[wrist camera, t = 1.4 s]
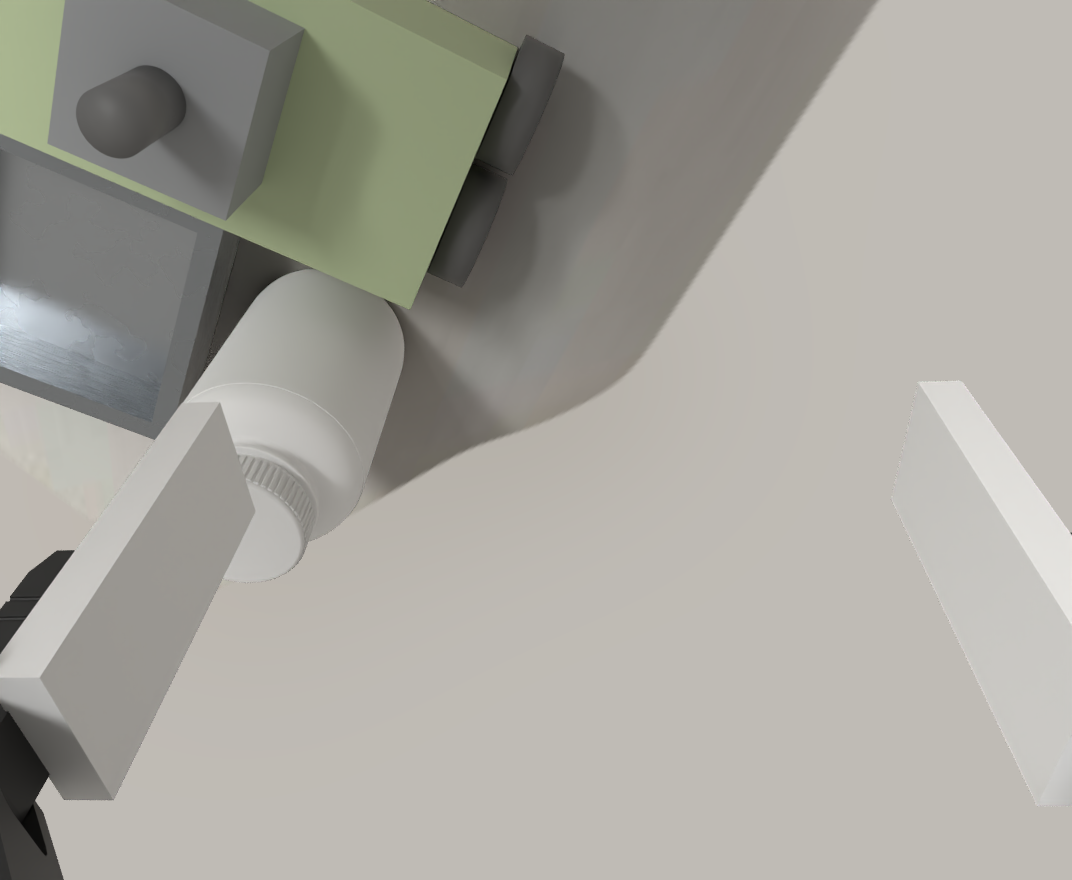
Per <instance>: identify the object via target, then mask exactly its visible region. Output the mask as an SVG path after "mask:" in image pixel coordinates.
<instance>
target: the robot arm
mask: <svg viewBox="0 0 1072 880" xmlns="http://www.w3.org/2000/svg"><path fill="white" fill-rule="evenodd" d="M891 501H892V503H893V505H894V507H895V509H896V511H897V513H898V516H899V517H900V520H901V522H902V524H903V526H904V528H905V530H906V532H907V534H908V536H909V539H910V541H911V543H912V545H913V547H914V549H915V551H916V553H917V555H918V557H919V559H920V562H921V564H922V566H923V568H924V570H925V572H926V574H927V577H928V579H929V580H930V583H931V585H932V587H933V589H934V591H935V593H936V595H937V597H938V600H939V602H940V604H941V606H942V608H943V610H944V612H945V614H946V616H947V618H948V621H949V623H950V625H951V627H952V629H953V631H954V633H955V635H956V638H957V640H958V642H959V644H960V646H961V648H962V650H963V652H964V654H965V656H966V659H967V661H968V663H969V665H970V667H971V669H972V671H973V673H974V675H975V677H976V680H977V682H978V684H979V686H980V688H981V690H982V692H983V694H984V696H985V699H986V700H987V703H988V705H989V707H990V709H991V711H992V713H993V715H994V717H995V720H996V722H997V724H998V726H999V728H1000V730H1001V732H1002V734H1003V736H1004V738H1005V740H1006V742H1007V745H1008V747H1009V749H1010V751H1011V753H1012V755H1013V757H1014V759H1015V762H1016V764H1017V766H1018V768H1019V770H1020V772H1021V774H1022V776H1023V778H1024V781H1025V783H1026V785H1027V787H1028V789H1029V791H1030V793H1031V795H1032V797H1033V799H1034V801H1035V803H1036V806H1072V533H1070V532H1069V531H1068V529H1067V528H1066V526H1065V525H1064V524H1063V522H1062V521H1061V520H1060V518H1059V517H1058V515H1057V514H1056V513H1055V511H1054V510H1053V508H1052V507H1051V506H1050V504H1049V503H1048V501H1047V500H1046V498H1045V497H1044V496H1043V494H1042V493H1041V492H1040V490H1039V489H1038V487H1037V486H1036V484H1035V483H1034V482H1033V480H1032V479H1031V477H1030V476H1029V475H1028V473H1027V472H1026V471H1025V469H1024V468H1023V466H1022V465H1021V463H1020V462H1019V461H1018V459H1017V458H1016V457H1015V455H1014V454H1013V452H1012V451H1011V449H1010V448H1009V447H1008V445H1007V444H1006V442H1005V441H1004V440H1003V438H1002V437H1001V436H1000V434H999V433H998V431H997V430H996V429H995V427H994V426H993V424H992V423H991V421H990V420H989V419H988V417H987V416H986V415H985V413H984V412H983V410H982V409H981V407H980V406H979V405H978V403H977V402H976V401H975V399H974V398H973V396H972V395H971V394H970V392H969V391H968V389H967V388H966V387H965V385H964V384H963V382H962V381H934V382H918V384H917V388H916V393H915V397H914V401H913V406H912V410H911V415H910V419H909V423H908V428H907V432H906V437H905V441H904V445H903V449H902V454H901V458H900V462H899V467H898V471H897V476H896V480H895V484H894V488H893V493H892V497H891ZM255 512H256V511H255V508H254V505H253V502H252V499H251V495H250V492H249V489H248V486H247V483H246V480H245V477H244V474H243V471H242V468H241V465H240V462H239V459H238V456H237V452H236V449H235V446H234V443H233V440H232V437H231V434H230V431H229V428H228V425H227V422H226V419H225V416H224V413H223V409H222V406H221V403H220V402H197V403H181V405H180V406H179V407H178V409H177V410H176V412H175V413H174V414H173V416H172V417H171V418H170V420H169V421H168V423H167V424H166V425H165V427H164V428H163V430H162V431H161V432H160V434H159V435H158V436H157V438H156V439H155V441H154V442H153V443H152V445H151V446H150V448H149V449H148V450H147V452H146V453H145V454H144V456H143V457H142V459H141V460H140V461H139V463H138V464H137V466H136V467H135V468H134V470H133V471H132V472H131V474H130V475H129V477H128V478H127V479H126V481H125V482H124V484H123V485H122V486H121V488H120V489H119V490H118V492H117V493H116V495H115V496H114V497H113V499H112V500H111V502H110V503H109V504H108V506H107V507H106V508H105V510H104V511H103V513H102V514H101V515H100V517H99V518H98V520H97V521H96V522H95V524H94V525H93V527H92V528H91V529H90V531H89V532H88V533H87V535H86V536H85V538H84V539H83V540H82V542H81V543H80V544H79V546H78V547H77V549H76V550H67V551H56V552H54V553H53V554H52V555H51V556H49V557H48V558H47V559H45V560H44V561H43V562H42V563H40V564H39V565H38V566H36V567H35V568H34V569H32V570H31V571H30V572H29V573H28V574H27V575H26V577H25V578H24V579H23V580H22V582H21V583H20V584H19V586H18V587H17V588H16V590H15V591H14V592H13V593H12V595H11V596H10V601H9V602H6V603H5V604H4V605H3V607H2V608H1V609H0V880H64V879H63V876H62V873H61V869H60V866H59V863H58V859H57V856H56V853H55V850H54V847H53V843H52V840H51V837H50V833H49V830H48V827H47V824H46V820H45V817H44V814H43V812H42V810H41V809H40V807H39V806H38V805H37V803H36V802H35V799H36V798H37V796H38V794H39V792H40V790H41V789H42V787H43V785H44V784H45V782H46V780H47V778H48V777H49V778H50V780H51V781H52V783H53V784H54V785H55V787H56V789H57V790H58V792H59V793H60V795H61V796H62V798H63V799H64V800H114V798H115V796H116V794H117V792H118V790H119V788H120V786H121V784H122V782H123V780H124V778H125V776H126V774H127V772H128V770H129V768H130V766H131V764H132V762H133V760H134V758H135V756H136V753H137V752H138V749H139V748H140V746H141V744H142V741H143V739H144V737H145V735H146V733H147V731H148V729H149V727H150V725H151V723H152V721H153V719H154V717H155V715H156V713H157V711H158V709H159V707H160V705H161V703H162V701H163V699H164V696H165V695H166V693H167V691H168V689H169V687H170V685H171V683H172V681H173V679H174V677H175V674H176V672H177V670H178V668H179V666H180V664H181V662H182V660H183V658H184V656H185V654H186V652H187V650H188V648H189V646H190V644H191V642H192V640H193V638H194V636H195V634H196V632H197V630H198V628H199V626H200V624H201V622H202V619H203V617H204V615H205V614H206V611H207V610H208V607H209V605H210V603H211V601H212V599H213V597H214V595H215V593H216V591H217V589H218V587H219V585H220V583H221V581H222V579H223V577H224V575H225V573H226V571H227V569H228V567H229V565H230V563H231V561H232V559H233V557H234V555H235V553H236V551H237V549H238V547H239V545H240V542H241V540H242V538H243V536H244V534H245V532H246V530H247V528H248V526H249V524H250V522H251V520H252V518H253V516H254V514H255Z"/></svg>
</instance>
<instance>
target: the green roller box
mask: <svg viewBox="0 0 1072 880" xmlns="http://www.w3.org/2000/svg"><path fill="white" fill-rule="evenodd" d="M516 51H517V47H516V46H514V45H512V44H510V43H508V42H506V41H504V40H502V39H500V38H498V37H496V36H494V35H492V34H490V33H488V32H486V31H484V30H482V29H481V28H479V27H477V26H475V25H473V24H471V23H469V22H467V21H465V20H463V19H461V18H459V17H457V16H455V15H453V14H451V13H449V12H448V11H446V10H444V9H442V8H440V7H438V6H436V5H434V4H432V3H430V2H428V1H426V0H0V134H3V135H5V136H7V137H10V138H12V139H14V140H16V141H19V142H21V143H23V144H26V145H28V146H30V147H33V148H35V149H37V150H40V151H42V152H44V153H47V154H49V155H51V156H54V157H56V158H58V159H61V160H63V161H65V162H68V163H70V164H72V165H75V166H77V167H79V168H81V169H84V170H86V171H88V172H91V173H93V174H95V175H98V176H100V177H102V178H105V179H107V180H109V181H112V182H114V183H116V184H119V185H121V186H123V187H126V188H128V189H130V190H133V191H135V192H137V193H140V194H142V195H144V196H147V197H149V198H151V199H153V200H156V201H158V202H160V203H163V204H165V205H167V206H170V207H172V208H174V209H177V210H179V211H181V212H184V213H186V214H188V215H191V216H193V217H195V218H198V219H200V220H202V221H205V222H207V223H209V224H212V225H214V226H216V227H219V228H221V229H223V230H225V231H228V232H230V233H232V234H235V235H237V236H239V237H242V238H244V239H246V240H249V241H251V242H253V243H256V244H258V245H260V246H263V247H265V248H267V249H270V250H272V251H274V252H277V253H279V254H281V255H284V256H286V257H288V258H291V259H293V260H295V261H297V262H300V263H302V264H304V265H307V266H309V267H311V268H314V269H316V270H318V271H321V272H323V273H325V274H328V275H330V276H332V277H335V278H337V279H339V280H342V281H344V282H346V283H349V284H351V285H353V286H356V287H358V288H360V289H362V290H365V291H367V292H369V293H372V294H374V295H376V296H379V297H381V298H383V299H386V300H388V301H390V302H393V303H395V304H397V305H400V306H402V307H404V308H407V309H409V310H410V309H411V306H412V304H413V302H414V299H415V297H416V295H417V292H418V290H419V287H420V285H421V283H422V280H423V278H424V276H425V273H426V271H427V268H428V266H429V264H430V266H429V268H428V271H427V272H428V273H430V274H433V275H435V276H437V277H439V278H442V279H444V280H446V281H448V282H451V283H453V284H455V285H457V286H460V287H462V286H463V285H464V283H465V281H466V279H467V278H468V276H469V274H470V272H471V270H472V268H473V265H474V263H475V261H476V259H477V257H478V255H479V252H480V250H481V248H482V246H483V243H484V241H485V239H486V236H487V234H488V232H489V229H490V227H491V224H492V222H493V220H494V217H495V215H496V212H497V209H498V207H499V204H500V201H501V199H502V196H503V193H504V190H505V187H506V183H507V179H505V178H502V177H500V176H498V175H496V174H494V173H492V172H490V171H488V170H486V169H484V168H482V167H479V166H477V165H475V164H473V163H472V162H473V159H474V157H475V155H476V158H477V159H479V160H481V161H483V162H485V163H487V164H489V165H491V166H493V167H495V168H498V169H500V170H502V171H504V172H506V173H508V174H510V175H512V174H513V173H514V172H515V170H516V168H517V166H518V165H519V163H520V161H521V159H522V157H523V155H524V153H525V151H526V149H527V147H528V145H529V142H530V140H531V138H532V136H533V134H534V132H535V129H536V127H537V125H538V123H539V120H540V118H541V116H542V114H543V111H544V109H545V107H546V104H547V102H548V99H549V97H550V94H551V92H552V90H553V87H554V84H555V82H556V79H557V77H558V74H559V71H560V68H561V66H562V62H563V59H564V54H563V53H561V52H559V51H557V50H555V49H554V48H552V47H550V46H548V45H546V44H544V43H542V42H540V41H538V40H536V39H534V38H532V37H530V36H529V35H526V37H525V39H524V41H523V44H522V46H521V48H520V50H519V53H518V55H517V57H516V60H515V62H514V64H513V66H512V63H513V60H514V57H515V54H516ZM511 66H512V69H511ZM510 69H511V71H510ZM509 72H510V74H509ZM508 75H509V76H508ZM489 121H490V122H489ZM486 128H487V129H486ZM484 133H485V134H484ZM482 138H483V139H482ZM481 140H482V141H481ZM480 143H481V144H480ZM479 145H480V147H479ZM478 147H479V149H478ZM477 150H478V152H477ZM476 152H477V154H476ZM471 164H472V165H471ZM470 166H471V167H470ZM443 230H444V231H443ZM441 235H442V236H441ZM438 242H439V243H438ZM436 247H437V248H436ZM435 249H436V250H435ZM434 252H435V253H434ZM433 254H434V255H433ZM432 257H433V258H432ZM431 259H432V261H431ZM430 261H431V263H430Z"/></svg>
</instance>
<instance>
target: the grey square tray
mask: <svg viewBox="0 0 1072 880" xmlns="http://www.w3.org/2000/svg"><path fill="white" fill-rule="evenodd" d="M239 240H240V237H239V236H237V235H235V234H232V233H230V232H228V231H225V230H223V229H221V228H219V227H216V226H214V225H212V224H209V223H207V222H205V221H202V220H200V219H198V218H195V217H193V216H191V215H188V214H186V213H184V212H181V211H179V210H177V209H174V208H172V207H170V206H167V205H165V204H163V203H160V202H158V201H156V200H153V199H151V198H149V197H147V196H144V195H142V194H140V193H137V192H135V191H133V190H130V189H128V188H126V187H123V186H121V185H119V184H116V183H114V182H112V181H109V180H107V179H105V178H102V177H100V176H98V175H95V174H93V173H91V172H88V171H86V170H84V169H81V168H79V167H77V166H75V165H72V164H70V163H68V162H65V161H63V160H61V159H58V158H56V157H54V156H51V155H49V154H47V153H44V152H42V151H40V150H37V149H35V148H33V147H30V146H28V145H26V144H23V143H21V142H19V141H16V140H14V139H12V138H10V137H7V136H5V135H3V134H0V383H3V384H6V385H9V386H11V387H14V388H17V389H19V390H22V391H25V392H27V393H30V394H33V395H35V396H38V397H41V398H44V399H46V400H49V401H52V402H54V403H57V404H60V405H62V406H65V407H68V408H70V409H73V410H76V411H79V412H81V413H84V414H87V415H89V416H92V417H95V418H97V419H100V420H103V421H105V422H108V423H111V424H114V425H116V426H119V427H122V428H124V429H127V430H130V431H132V432H135V433H138V434H141V435H143V436H146V437H149V438H151V439H154V440H155V439H156V438H157V436H158V435H159V434H160V432H161V431H162V430H163V428H164V427H165V425H166V424H167V423H168V421H169V420H170V418H171V417H172V416H173V414H174V413H175V412H176V410H177V409H178V407H179V406H180V405H181V403H183V402H184V401H185V399H186V398H187V396H188V395H189V393H190V392H191V390H192V389H193V388H194V386H195V385H196V383H197V382H198V380H199V379H200V378H201V376H202V375H203V372H204V368H205V365H206V361H207V357H208V354H209V350H210V346H211V343H212V339H213V335H214V332H215V328H216V324H217V321H218V317H219V313H220V310H221V306H222V302H223V299H224V295H225V291H226V288H227V284H228V281H229V277H230V273H231V270H232V266H233V262H234V259H235V255H236V251H237V248H238V244H239Z"/></svg>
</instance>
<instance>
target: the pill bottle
mask: <svg viewBox="0 0 1072 880" xmlns="http://www.w3.org/2000/svg"><path fill="white" fill-rule="evenodd" d="M403 361H404V338H403V333H402V330H401V327H400V324H399V322H398V319H397V317H396V315H395V314H394V312H393V310H392V309H391V307H390V306H389V305H388V303H387V302H386V301H385V300H384V299H383V298H381V297H379V296H376V295H374V294H372V293H369V292H367V291H365V290H362V289H360V288H358V287H356V286H353V285H351V284H349V283H346V282H344V281H342V280H339V279H337V278H335V277H332V276H330V275H328V274H325V273H323V272H321V271H318V270H316V269H306V270H300V271H296V272H292V273H289V274H287V275H284V276H282V277H280V278H278V279H277V280H275V281H274V282H272V283H271V284H269V285H268V286H267V287H266V288H265V289H264V290H263V291H262V292H261V293H260V294H259V295H258V296H257V297H256V299H255V300H254V301H253V303H252V304H251V306H250V307H249V308H248V310H247V311H246V313H245V314H244V316H243V317H242V319H241V320H240V321H239V323H238V324H237V326H236V327H235V329H234V330H233V332H232V333H231V334H230V336H229V337H228V339H227V340H226V342H225V343H224V344H223V346H222V347H221V349H220V350H219V352H218V353H217V355H216V356H215V357H214V359H213V360H212V362H211V363H210V365H209V366H208V367H207V369H206V370H205V372H204V373H203V375H202V376H201V378H200V379H199V380H198V382H197V383H196V385H195V386H194V388H193V389H192V390H191V392H190V393H189V395H188V396H187V398H186V399H185V401H184V402H183V403H197V402H220V403H221V406H222V409H223V413H224V416H225V419H226V422H227V425H228V428H229V431H230V434H231V437H232V440H233V443H234V446H235V449H236V452H237V456H238V459H239V462H240V465H241V468H242V471H243V474H244V477H245V480H246V483H247V486H248V489H249V492H250V495H251V499H252V502H253V505H254V508H255V511H256V512H255V514H254V516H253V518H252V520H251V522H250V524H249V526H248V528H247V530H246V532H245V534H244V536H243V538H242V540H241V542H240V545H239V547H238V549H237V551H236V553H235V555H234V557H233V559H232V561H231V563H230V565H229V567H228V569H227V571H226V573H225V575H224V577H223V579H224V580H229V581H234V582H243V583H255V582H263V581H268V580H272V579H275V578H277V577H280V576H281V575H283V574H285V573H287V572H289V571H290V570H291V569H293V568H294V567H295V565H297V564H298V562H299V561H300V560H301V558H302V556H303V554H304V552H305V549H306V547H307V544H308V542H309V541H312V540H314V539H317V538H319V537H321V536H323V535H325V534H327V533H328V532H330V531H332V530H333V529H334V528H336V527H337V526H338V525H339V524H340V523H342V522H343V521H344V520H345V519H346V517H347V516H348V515H349V514H350V513H351V512H352V511H353V509H354V508H355V506H356V505H357V503H358V501H359V499H360V496H361V494H362V491H363V488H364V486H365V482H366V479H367V476H368V473H369V470H370V467H371V464H372V461H373V458H374V455H375V452H376V448H377V445H378V442H379V439H380V436H381V433H382V430H383V427H384V424H385V421H386V418H387V414H388V411H389V408H390V405H391V402H392V399H393V396H394V393H395V390H396V387H397V384H398V380H399V377H400V374H401V371H402V367H403Z"/></svg>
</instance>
